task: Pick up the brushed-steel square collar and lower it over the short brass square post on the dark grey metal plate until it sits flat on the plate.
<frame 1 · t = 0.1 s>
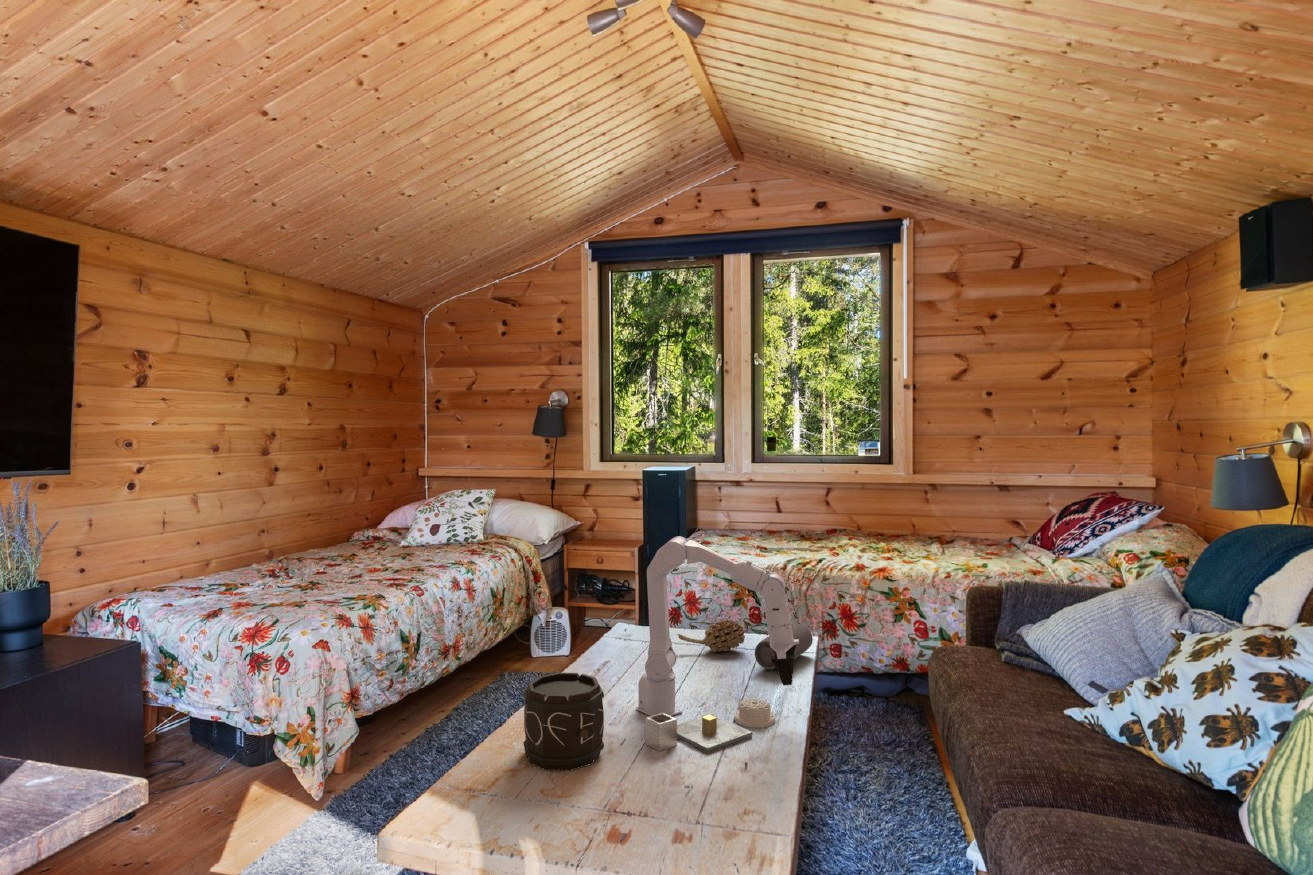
hand: (788, 679, 185), 11 cm above the table, tool pointing down, fingers open, 7 cm apart
wooden barrel: (564, 756, 168), on the table
collar: (661, 744, 173), on the table
bluetooth speaker: (784, 663, 231), on the table
post plate: (709, 735, 178), on the table
pine cone: (711, 652, 242), on the table
mechanical component: (754, 721, 187), on the table
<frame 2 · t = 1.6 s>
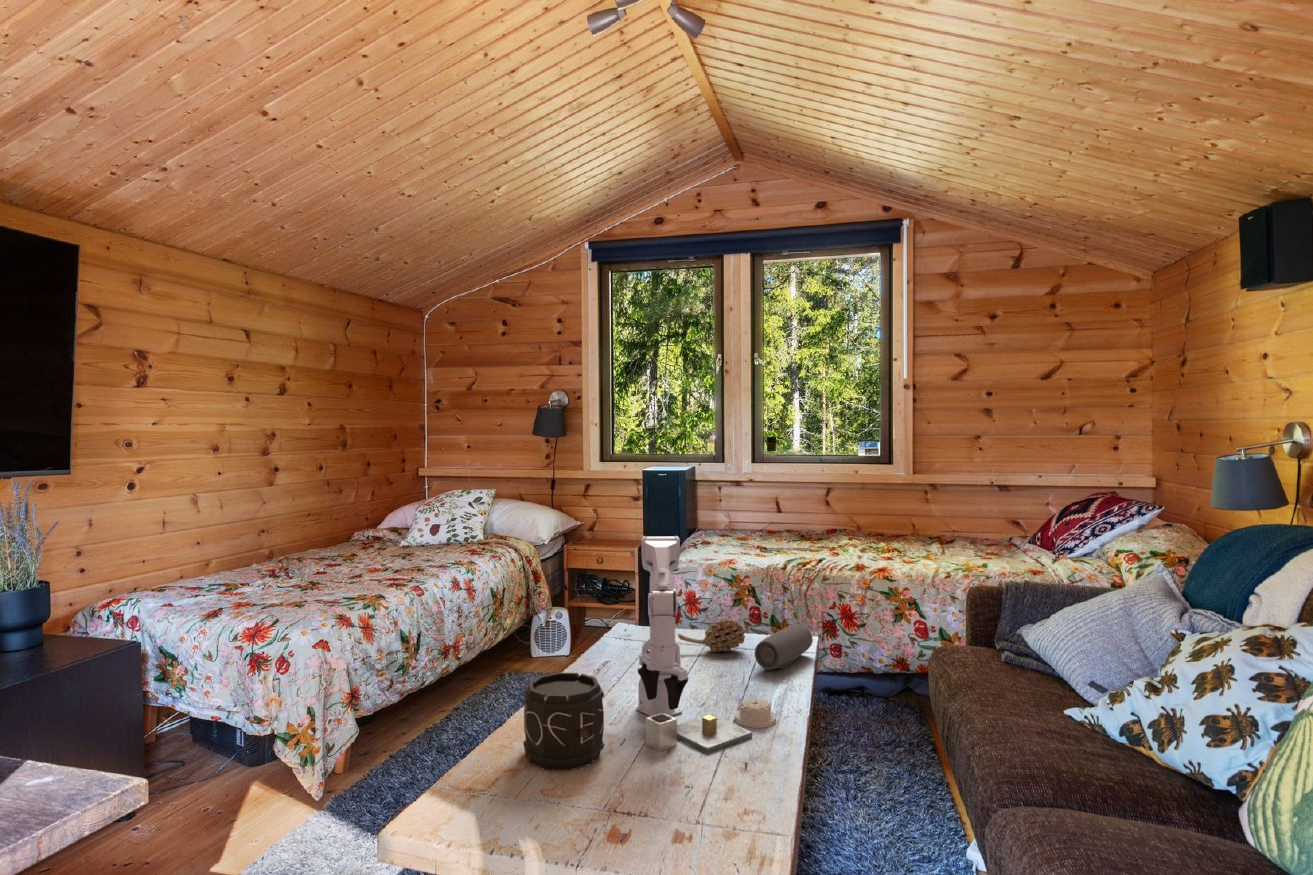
hand: (662, 703, 173), 9 cm above the table, tool pointing down, fingers open, 7 cm apart
nothing on the table moved.
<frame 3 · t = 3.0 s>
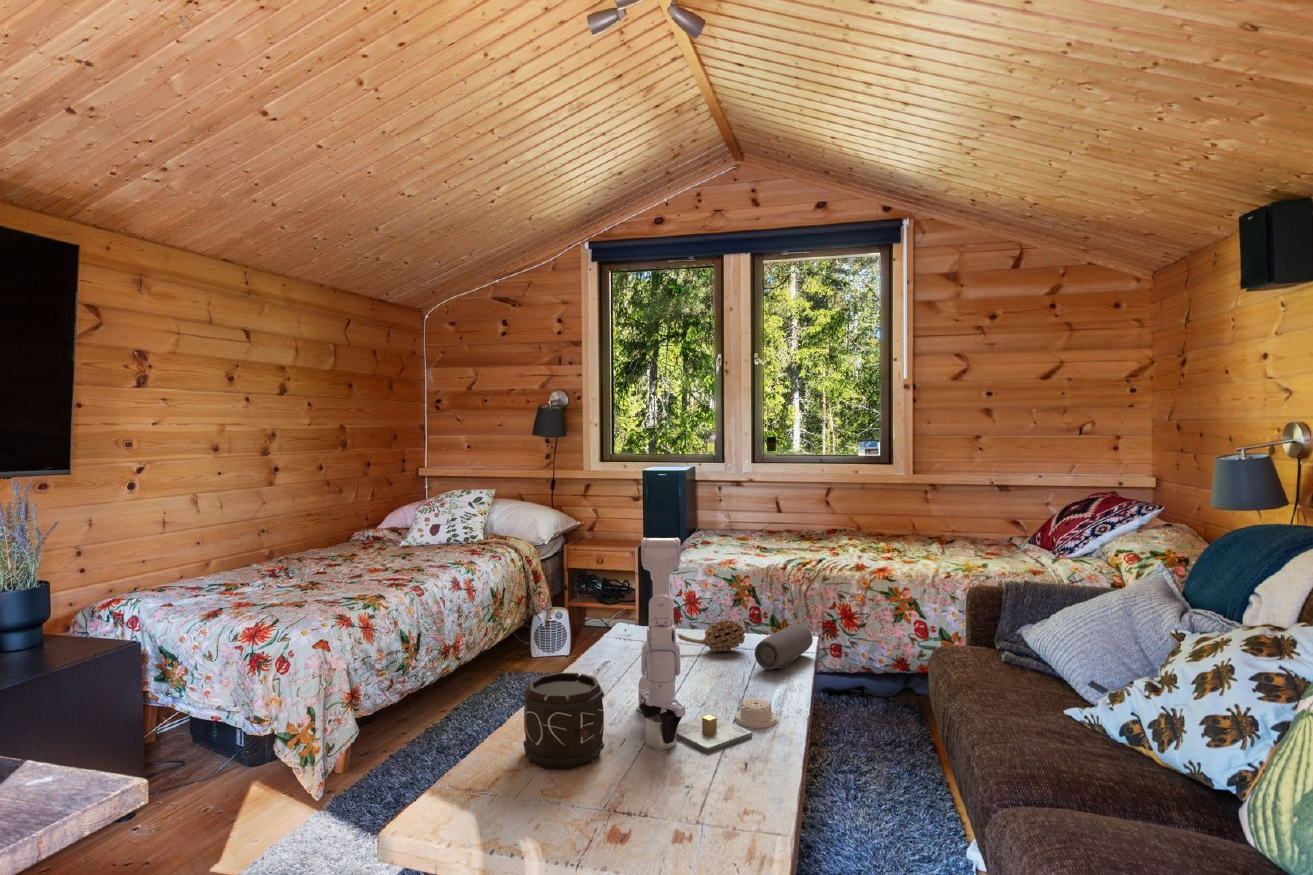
hand: (661, 738, 173), 1 cm above the table, tool pointing down, fingers closed on collar, 5 cm apart
collar: (661, 744, 173), on the table, touching gripper
everything else where it was.
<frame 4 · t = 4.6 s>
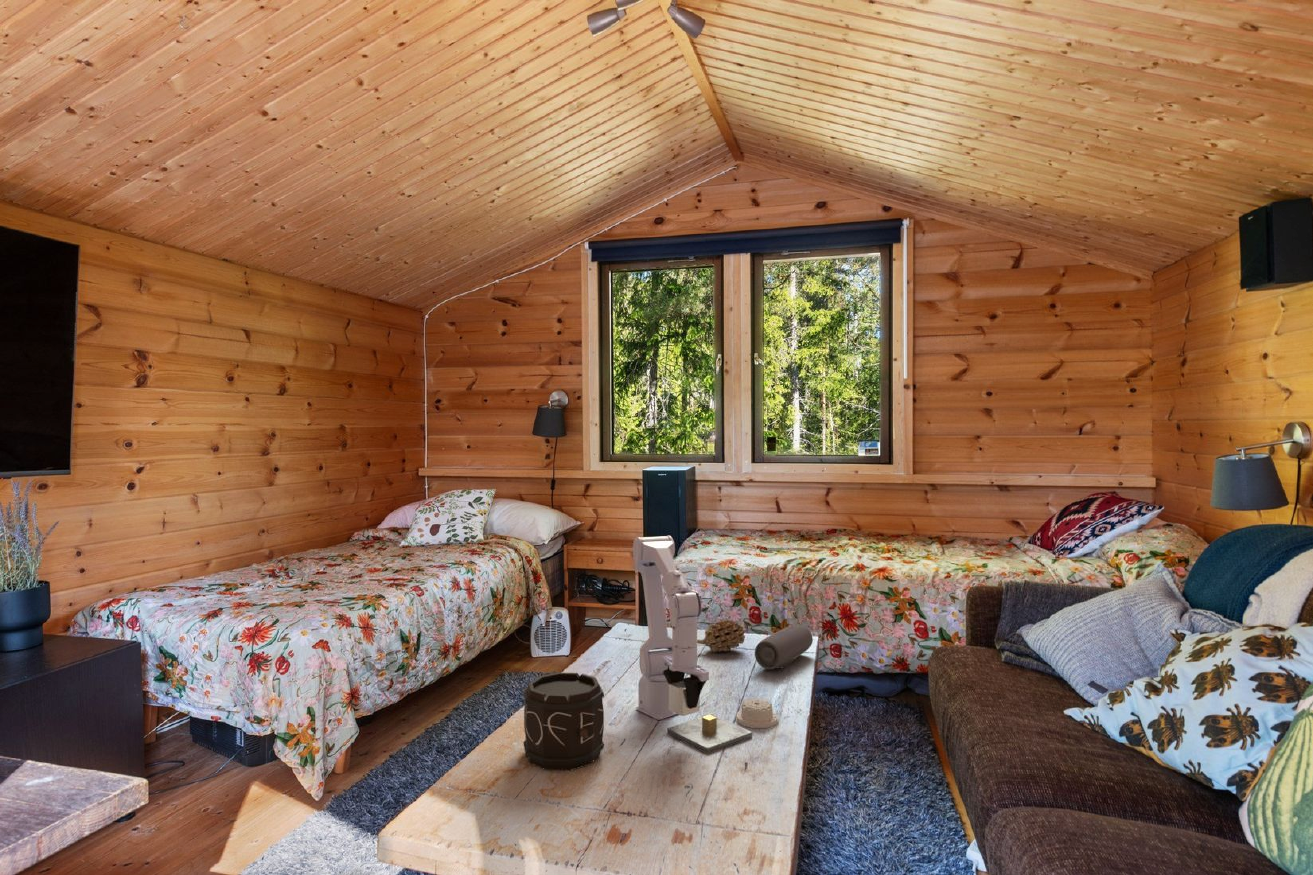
hand: (684, 703, 175), 8 cm above the table, tool pointing down, fingers closed on collar, 5 cm apart
collar: (684, 710, 175), point 7 cm above the table, touching gripper
everything else where it was.
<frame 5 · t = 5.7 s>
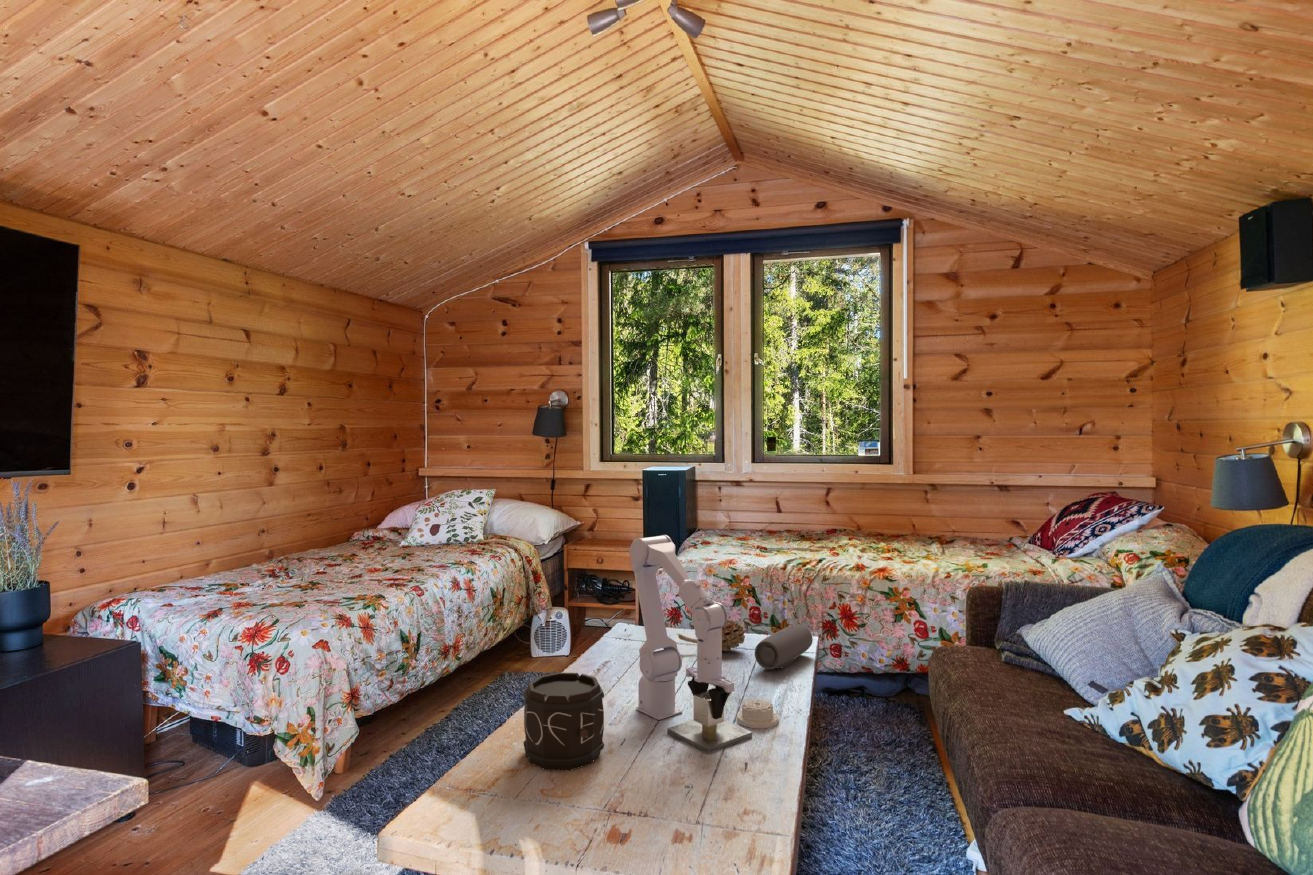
hand: (709, 714, 178), 5 cm above the table, tool pointing down, fingers closed on collar, 5 cm apart
collar: (708, 720, 178), point 3 cm above the table, touching gripper
everything else where it was.
when the fingers open (3 cm above the table, at t = 6.5 s): collar stays where it is, resting on post plate.
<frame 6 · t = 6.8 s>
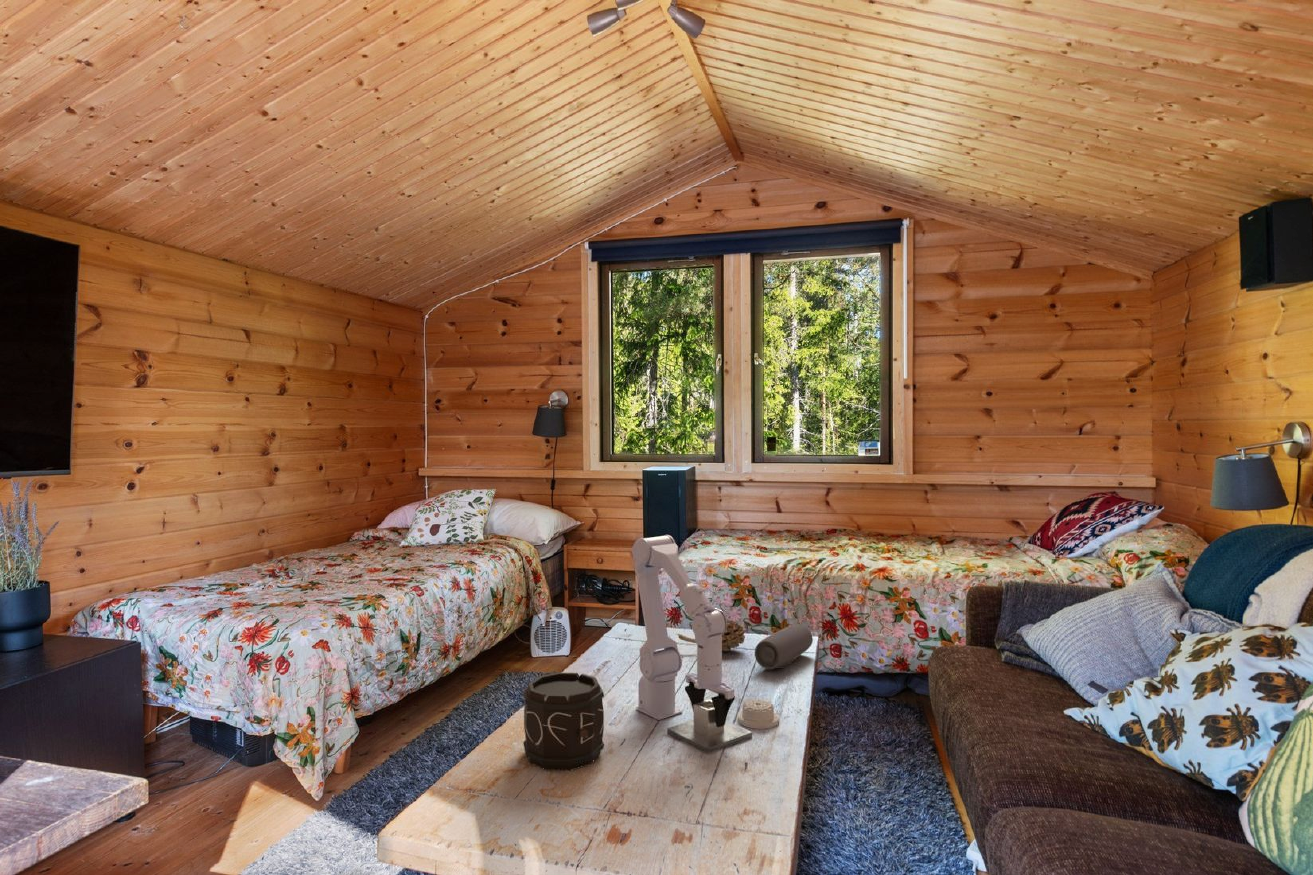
hand: (709, 720, 178), 3 cm above the table, tool pointing down, fingers open, 7 cm apart
collar: (708, 730, 178), point 1 cm above the table, touching post plate
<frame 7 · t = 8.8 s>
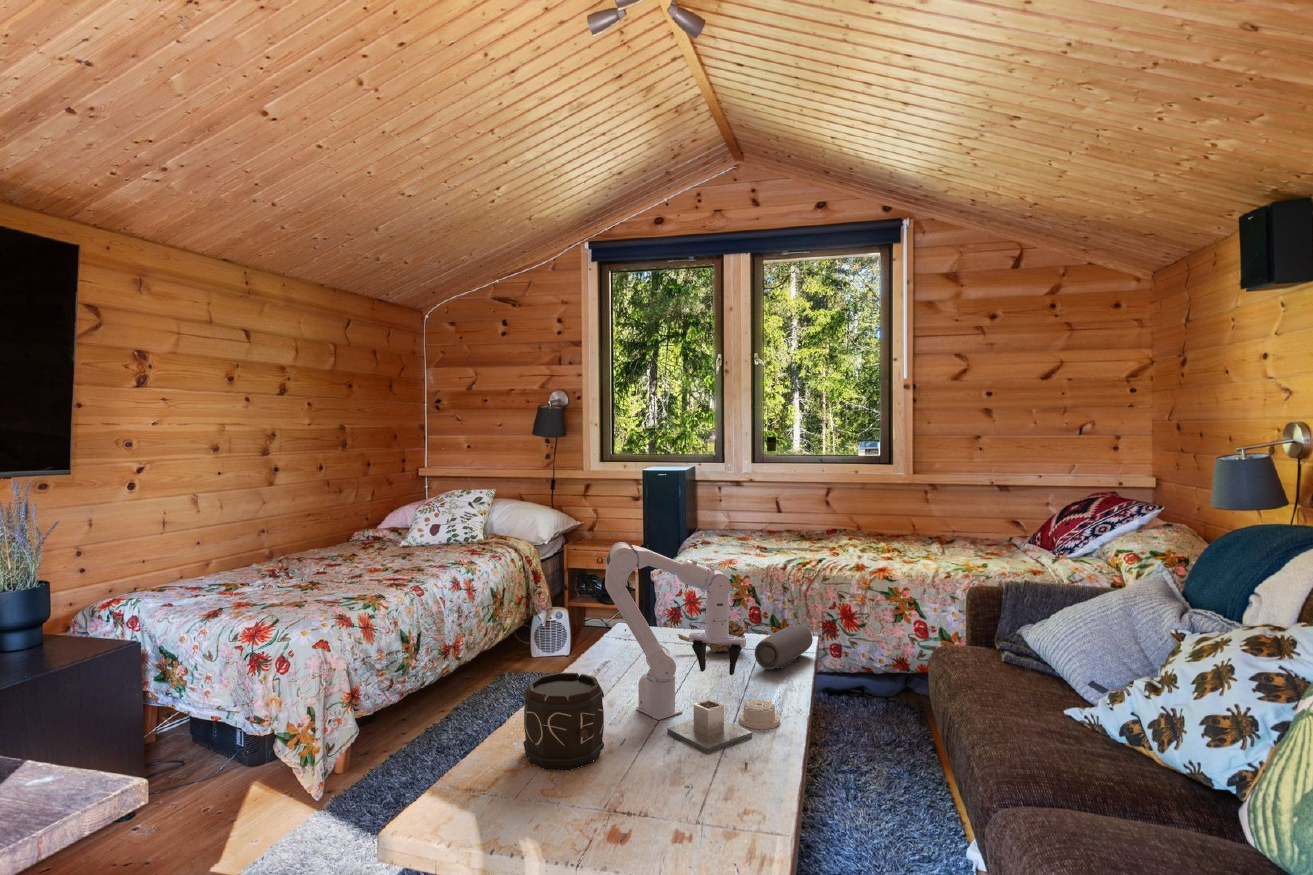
hand: (717, 672, 194), 9 cm above the table, tool pointing down, fingers open, 7 cm apart
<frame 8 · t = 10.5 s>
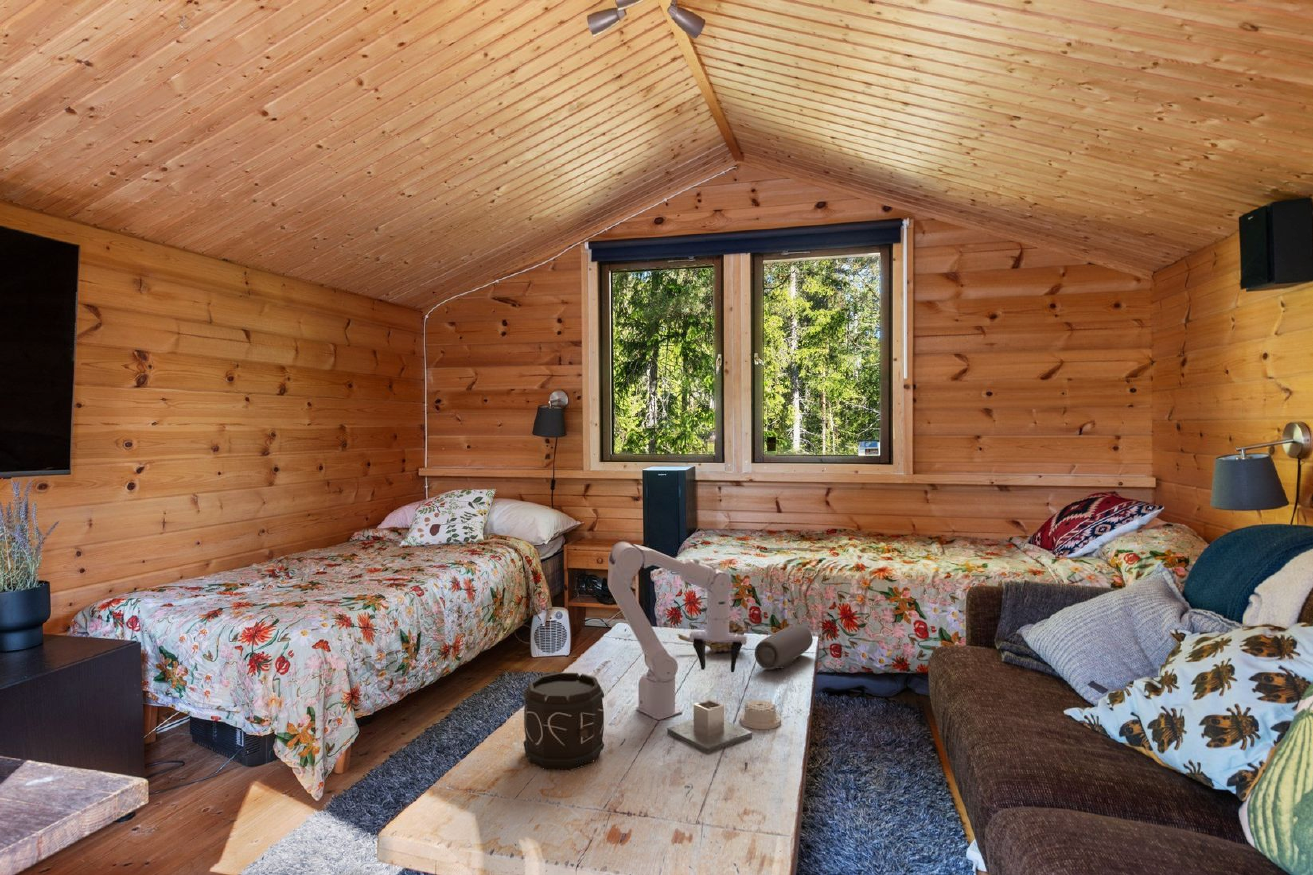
hand: (717, 669, 196), 9 cm above the table, tool pointing down, fingers open, 7 cm apart
at the end: collar 0.2 cm off-centre on the post plate, point 1.2 cm above the post plate's base; collar tilted 0°; the gripper is holding nothing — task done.
